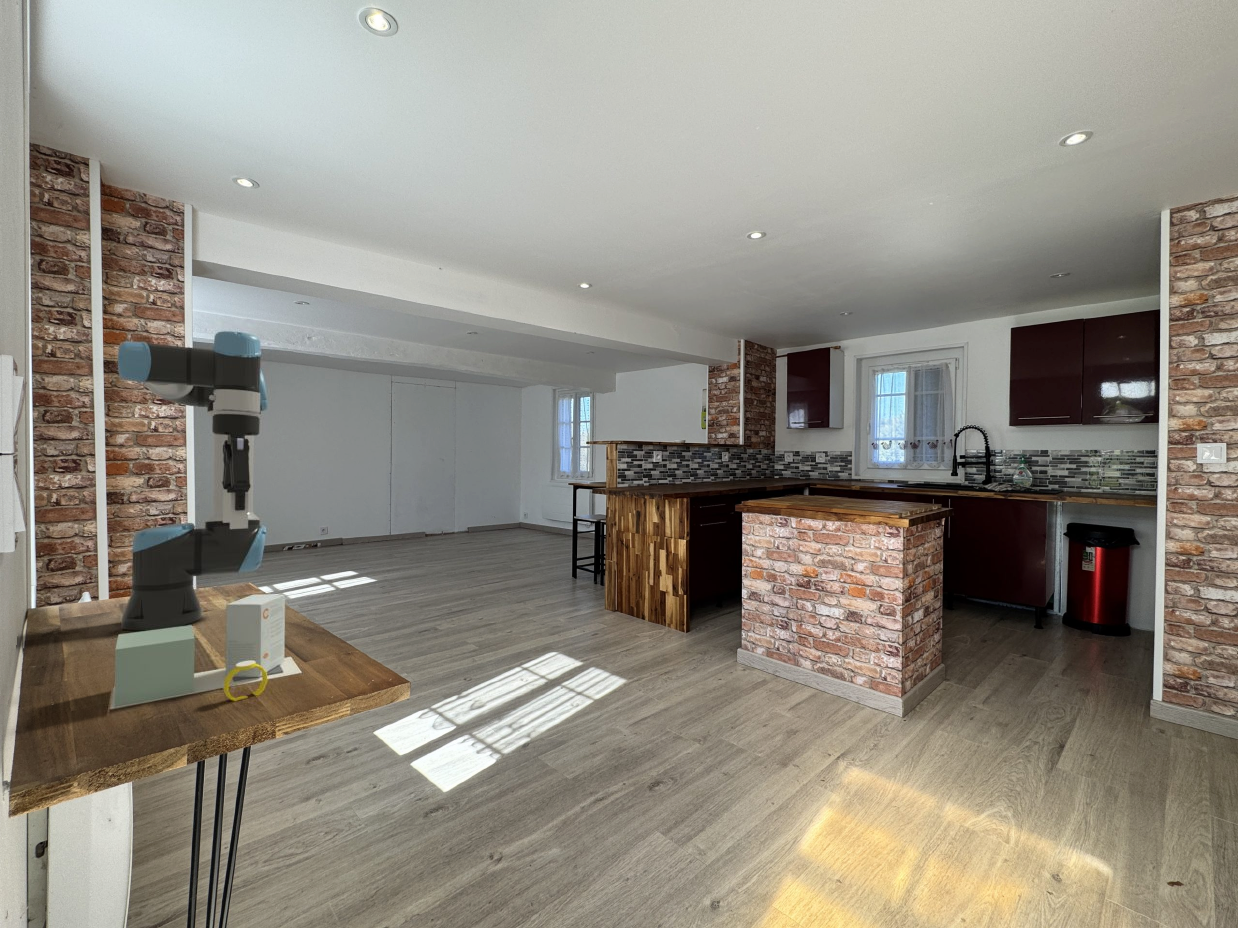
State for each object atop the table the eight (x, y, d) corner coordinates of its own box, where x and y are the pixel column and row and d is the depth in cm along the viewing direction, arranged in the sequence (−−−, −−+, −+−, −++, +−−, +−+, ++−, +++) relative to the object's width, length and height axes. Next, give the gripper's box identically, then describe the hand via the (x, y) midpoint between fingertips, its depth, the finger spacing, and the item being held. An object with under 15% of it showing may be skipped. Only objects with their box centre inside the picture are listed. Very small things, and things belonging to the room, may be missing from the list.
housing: (117, 687, 98) (118, 634, 98) (190, 674, 104) (191, 624, 104) (114, 707, 90) (115, 649, 90) (193, 692, 96) (194, 638, 96)
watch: (228, 708, 92) (226, 671, 92) (222, 703, 94) (220, 667, 93) (270, 694, 96) (267, 659, 96) (263, 690, 98) (261, 655, 98)
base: (113, 688, 98) (113, 685, 98) (290, 658, 115) (290, 655, 115) (109, 710, 89) (110, 706, 89) (301, 674, 106) (302, 670, 106)
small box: (251, 661, 111) (252, 593, 111) (285, 662, 111) (286, 594, 111) (223, 677, 102) (225, 603, 102) (260, 677, 103) (261, 604, 103)
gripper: (207, 416, 118) (206, 520, 118) (218, 408, 98) (216, 532, 98) (251, 419, 123) (249, 519, 122) (269, 411, 103) (267, 530, 103)
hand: (234, 525), depth 110 cm, fingers open, 13 cm apart
